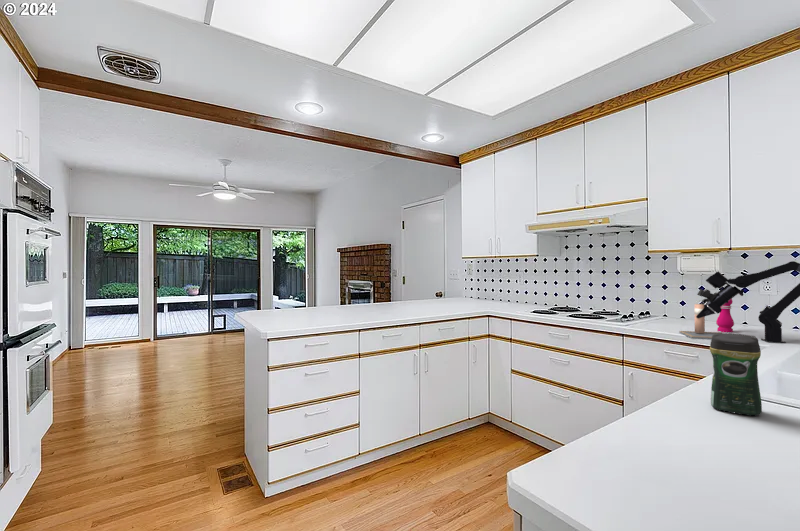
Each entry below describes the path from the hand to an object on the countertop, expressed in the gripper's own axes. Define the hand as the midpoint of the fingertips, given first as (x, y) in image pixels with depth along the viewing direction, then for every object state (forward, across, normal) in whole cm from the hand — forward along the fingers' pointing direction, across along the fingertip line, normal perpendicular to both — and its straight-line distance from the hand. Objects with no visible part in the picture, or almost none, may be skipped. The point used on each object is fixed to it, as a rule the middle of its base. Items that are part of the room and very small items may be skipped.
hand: (696, 317), depth 199 cm
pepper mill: (-4, -20, +16) cm, 26 cm away
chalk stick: (+4, 0, +6) cm, 8 cm away
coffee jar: (+10, +121, +3) cm, 121 cm away
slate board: (+4, +2, +9) cm, 10 cm away
